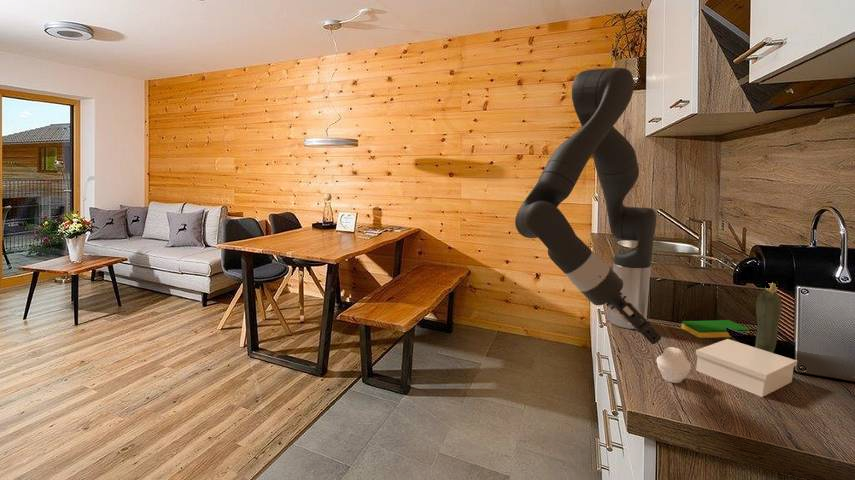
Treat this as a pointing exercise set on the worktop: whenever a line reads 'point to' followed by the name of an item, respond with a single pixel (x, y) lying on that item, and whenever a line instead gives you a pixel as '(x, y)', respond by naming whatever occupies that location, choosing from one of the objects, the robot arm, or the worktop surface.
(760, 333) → the vegetable
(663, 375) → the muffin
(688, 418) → the worktop surface
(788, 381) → the cardboard box
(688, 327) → the dish sponge
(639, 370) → the worktop surface
